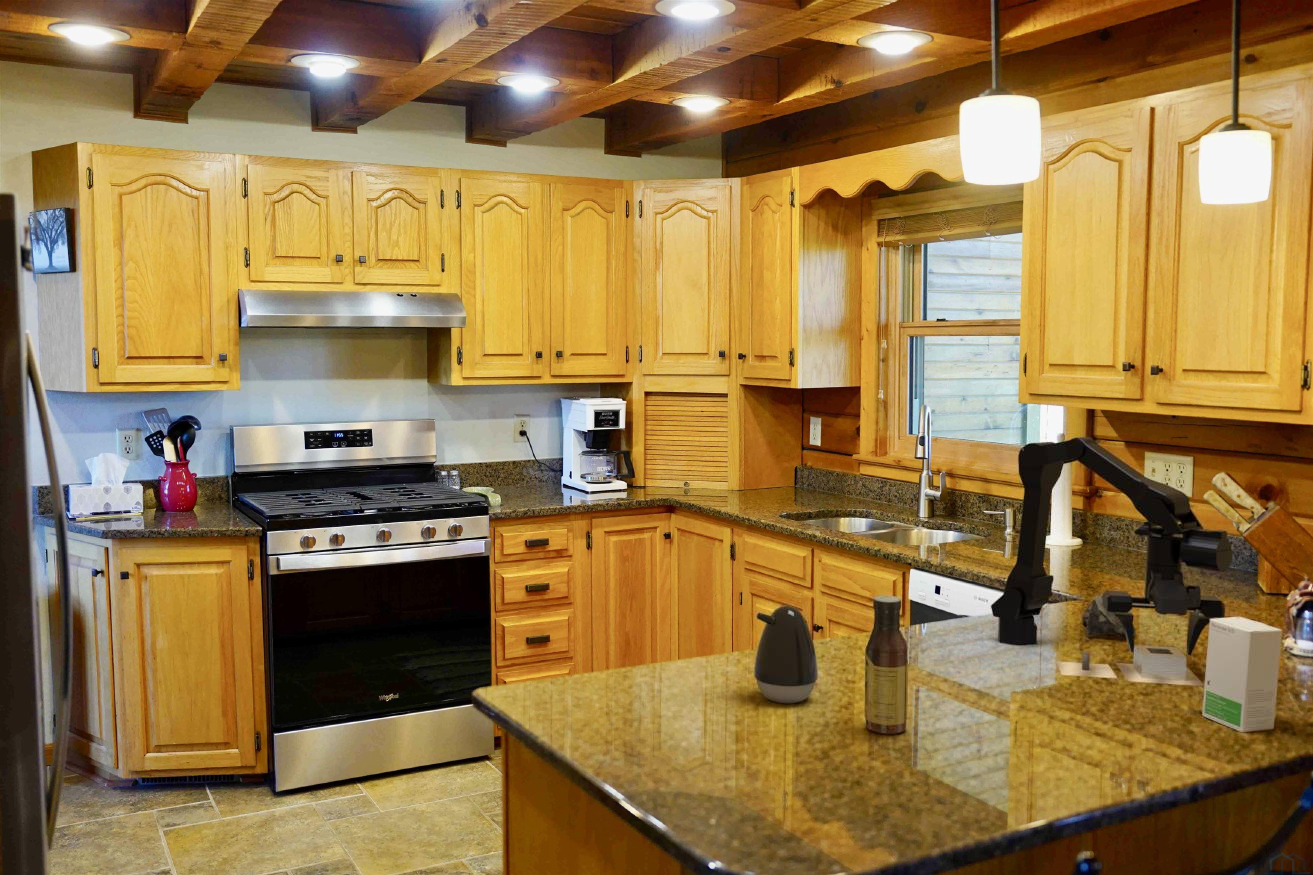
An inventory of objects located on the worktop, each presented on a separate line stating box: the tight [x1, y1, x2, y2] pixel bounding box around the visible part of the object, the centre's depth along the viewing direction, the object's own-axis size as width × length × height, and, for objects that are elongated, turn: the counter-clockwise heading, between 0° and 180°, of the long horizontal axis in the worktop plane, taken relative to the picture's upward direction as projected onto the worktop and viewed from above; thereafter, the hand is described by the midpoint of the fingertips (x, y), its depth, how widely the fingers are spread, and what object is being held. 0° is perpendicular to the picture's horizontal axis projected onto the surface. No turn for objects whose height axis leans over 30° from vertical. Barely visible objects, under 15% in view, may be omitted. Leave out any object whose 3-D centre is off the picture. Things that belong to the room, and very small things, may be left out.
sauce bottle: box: [864, 595, 909, 736], centre depth 172 cm, size 6×6×20 cm
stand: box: [1054, 652, 1118, 679], centre depth 203 cm, size 9×9×4 cm
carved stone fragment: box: [1081, 593, 1137, 641], centre depth 233 cm, size 11×9×10 cm
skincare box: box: [1201, 616, 1283, 733], centre depth 177 cm, size 8×7×16 cm
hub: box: [1115, 662, 1205, 687], centre depth 200 cm, size 12×12×4 cm
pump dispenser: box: [753, 605, 819, 704], centre depth 187 cm, size 10×10×15 cm
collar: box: [1132, 644, 1188, 681], centre depth 200 cm, size 7×7×4 cm
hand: (1160, 653), depth 200 cm, fingers open, 9 cm apart
